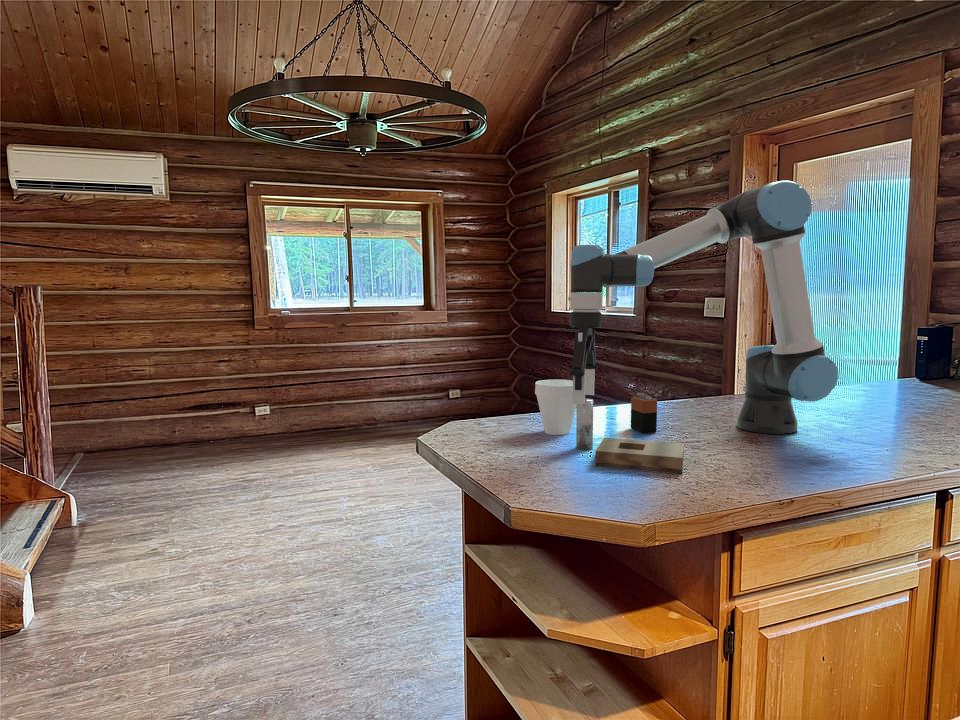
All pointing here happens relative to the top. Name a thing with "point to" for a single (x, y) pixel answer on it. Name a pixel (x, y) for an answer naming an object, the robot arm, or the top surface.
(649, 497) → the top surface
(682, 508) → the top surface
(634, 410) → the battery
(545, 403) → the cup
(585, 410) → the pin
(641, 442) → the bore block
